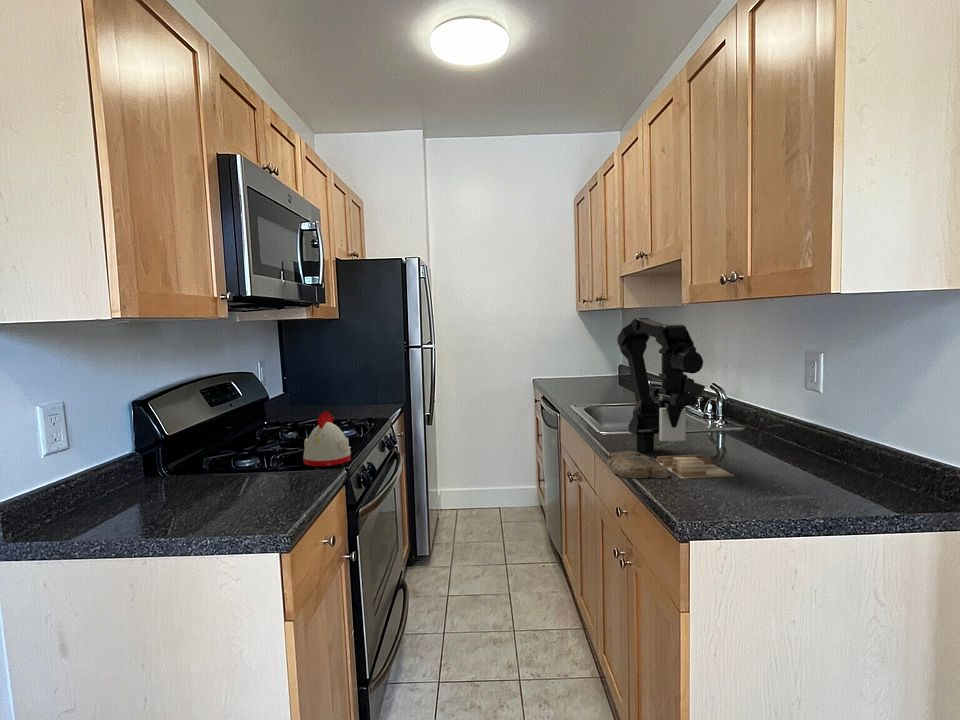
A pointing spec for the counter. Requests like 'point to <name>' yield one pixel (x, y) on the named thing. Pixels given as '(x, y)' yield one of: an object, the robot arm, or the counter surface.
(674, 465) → the oak offcut
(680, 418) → the panel
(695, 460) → the pine offcut
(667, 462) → the rack
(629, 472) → the craggy brown boulder
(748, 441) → the counter surface
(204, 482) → the counter surface
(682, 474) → the tan wooden square tile
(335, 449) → the kitchen timer
